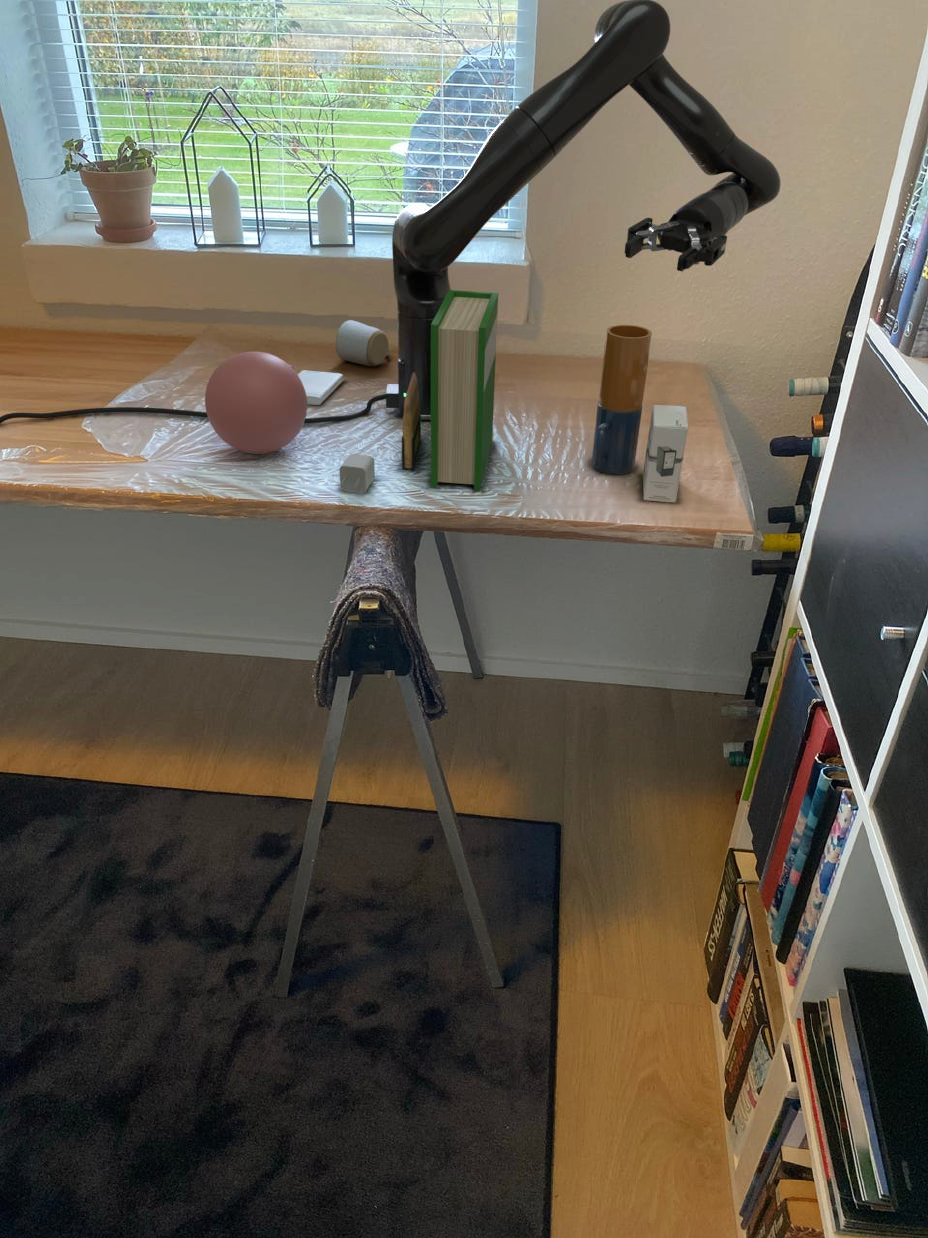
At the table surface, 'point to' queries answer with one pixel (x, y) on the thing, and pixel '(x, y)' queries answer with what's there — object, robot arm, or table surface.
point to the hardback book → (462, 386)
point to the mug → (615, 441)
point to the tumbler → (624, 368)
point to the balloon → (256, 402)
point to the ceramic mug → (361, 343)
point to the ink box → (664, 453)
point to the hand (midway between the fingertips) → (653, 257)
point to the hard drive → (319, 385)
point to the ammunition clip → (411, 426)
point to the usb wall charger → (357, 473)
